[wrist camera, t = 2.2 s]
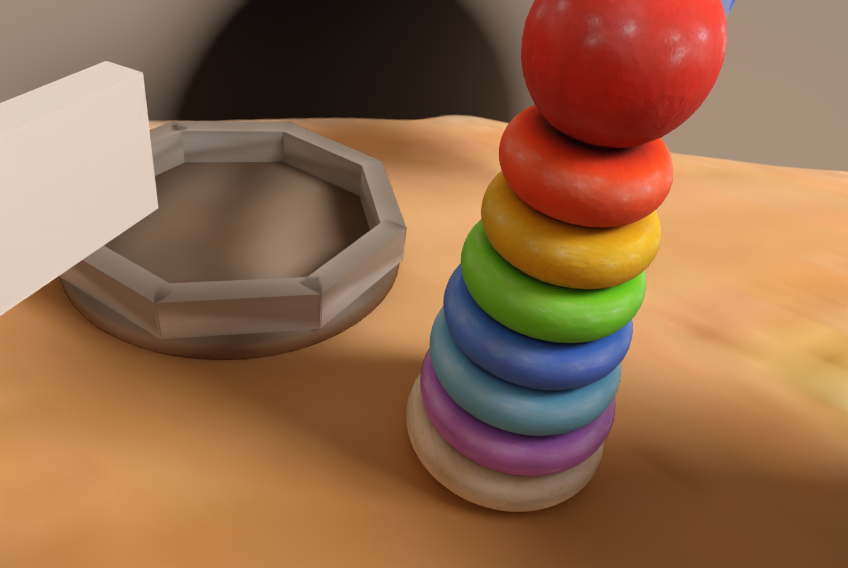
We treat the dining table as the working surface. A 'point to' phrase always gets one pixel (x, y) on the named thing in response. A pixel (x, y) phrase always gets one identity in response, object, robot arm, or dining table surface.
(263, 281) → the plate
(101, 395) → the dining table surface
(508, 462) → the stacking toy
